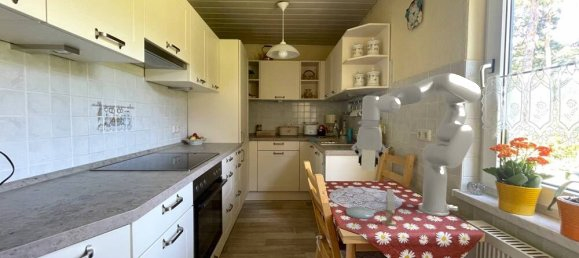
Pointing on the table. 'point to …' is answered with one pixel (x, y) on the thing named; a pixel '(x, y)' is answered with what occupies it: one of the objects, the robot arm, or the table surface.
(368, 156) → the cream block
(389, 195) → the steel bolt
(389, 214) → the clamp frame
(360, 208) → the ceramic plate
